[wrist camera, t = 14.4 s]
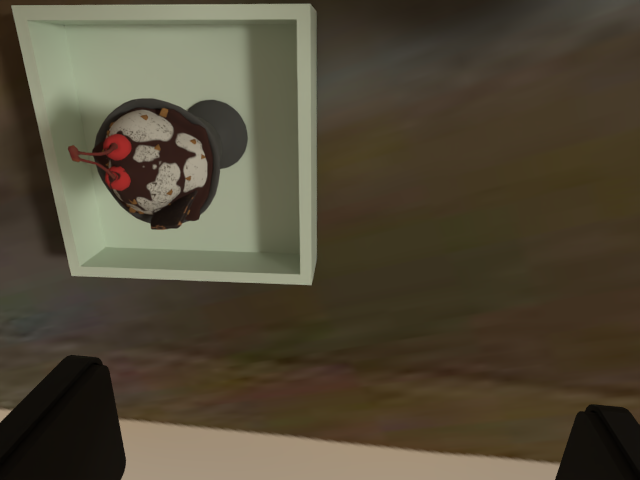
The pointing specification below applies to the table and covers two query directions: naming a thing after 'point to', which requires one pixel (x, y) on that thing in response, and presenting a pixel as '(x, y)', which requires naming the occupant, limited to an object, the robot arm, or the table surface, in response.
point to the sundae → (166, 157)
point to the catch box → (184, 91)
